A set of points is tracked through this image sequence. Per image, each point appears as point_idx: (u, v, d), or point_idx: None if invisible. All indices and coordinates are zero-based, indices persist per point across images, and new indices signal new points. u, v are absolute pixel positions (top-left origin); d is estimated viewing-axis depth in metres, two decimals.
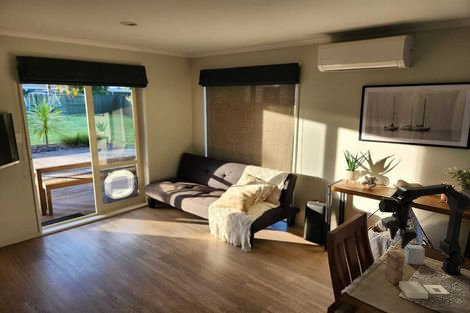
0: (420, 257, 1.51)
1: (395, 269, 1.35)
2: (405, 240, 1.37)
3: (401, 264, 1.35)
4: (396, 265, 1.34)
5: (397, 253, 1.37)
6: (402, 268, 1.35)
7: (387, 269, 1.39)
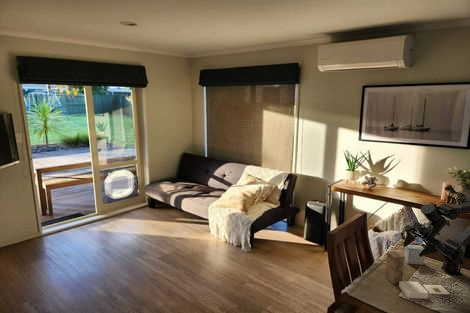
0: (420, 257, 1.51)
1: (395, 269, 1.35)
2: (428, 250, 1.33)
3: (401, 264, 1.35)
4: (396, 265, 1.34)
5: (397, 253, 1.37)
6: (402, 268, 1.35)
7: (387, 269, 1.39)
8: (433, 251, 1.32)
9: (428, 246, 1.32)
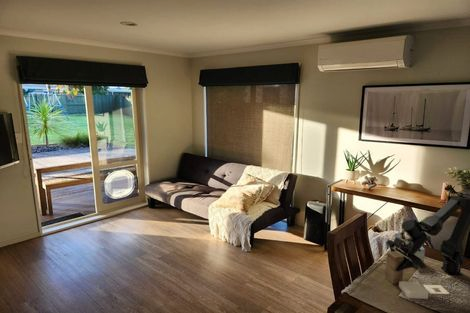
0: (420, 257, 1.51)
1: (395, 269, 1.35)
2: (405, 264, 1.33)
3: None
4: (396, 265, 1.34)
5: (397, 253, 1.37)
6: None
7: (387, 269, 1.39)
8: (410, 266, 1.33)
9: (405, 261, 1.33)
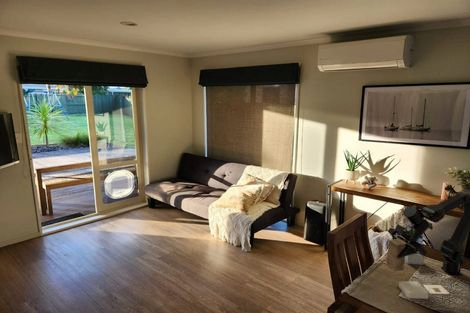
0: (420, 257, 1.51)
1: (397, 256, 1.33)
2: (407, 251, 1.32)
3: None
4: (398, 252, 1.33)
5: (399, 241, 1.36)
6: None
7: (388, 257, 1.38)
8: (412, 253, 1.32)
9: (407, 248, 1.32)
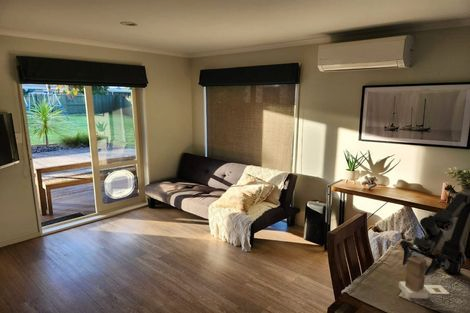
0: (420, 257, 1.51)
1: (419, 276, 1.25)
2: (433, 267, 1.23)
3: (423, 270, 1.26)
4: (420, 271, 1.25)
5: (417, 258, 1.28)
6: (424, 273, 1.27)
7: (408, 277, 1.28)
8: (437, 268, 1.24)
9: (434, 264, 1.22)
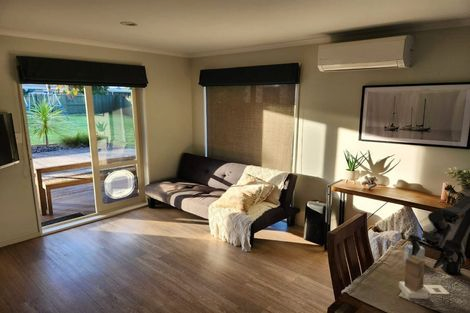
0: (420, 257, 1.51)
1: (418, 276, 1.25)
2: (441, 260, 1.26)
3: (422, 269, 1.26)
4: (418, 271, 1.25)
5: (415, 258, 1.28)
6: (423, 273, 1.27)
7: (407, 276, 1.28)
8: (446, 261, 1.26)
9: (442, 257, 1.25)
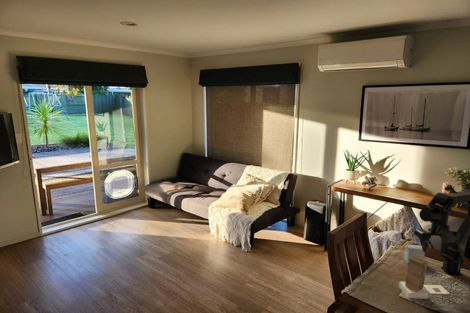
0: None
1: (420, 276, 1.25)
2: None
3: (424, 270, 1.26)
4: (421, 271, 1.25)
5: (419, 258, 1.28)
6: (424, 273, 1.27)
7: (409, 276, 1.28)
8: None
9: (450, 243, 1.37)
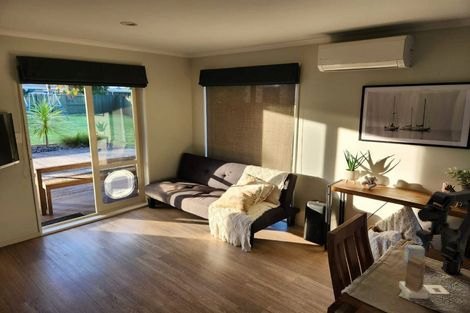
0: (420, 257, 1.51)
1: (419, 276, 1.25)
2: None
3: (423, 270, 1.26)
4: (420, 271, 1.25)
5: (416, 258, 1.27)
6: (423, 273, 1.27)
7: (408, 277, 1.28)
8: None
9: None
